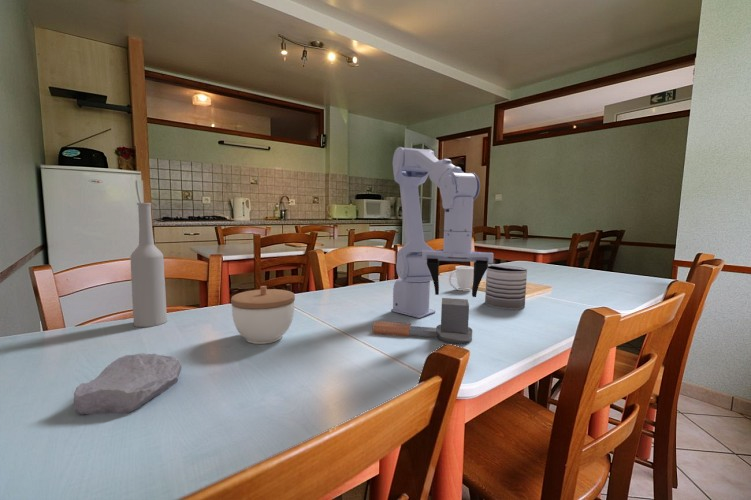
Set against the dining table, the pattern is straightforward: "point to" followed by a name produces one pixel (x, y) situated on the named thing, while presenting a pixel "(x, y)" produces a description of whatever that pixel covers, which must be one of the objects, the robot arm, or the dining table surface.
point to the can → (505, 286)
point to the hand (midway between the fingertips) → (455, 294)
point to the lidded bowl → (263, 314)
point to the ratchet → (421, 332)
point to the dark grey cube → (454, 315)
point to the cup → (463, 277)
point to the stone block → (127, 384)
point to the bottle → (147, 275)
